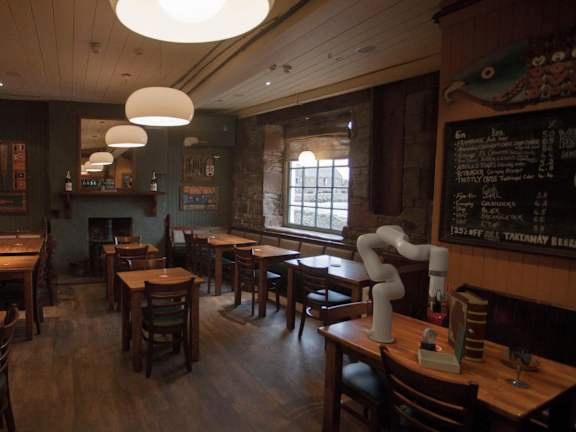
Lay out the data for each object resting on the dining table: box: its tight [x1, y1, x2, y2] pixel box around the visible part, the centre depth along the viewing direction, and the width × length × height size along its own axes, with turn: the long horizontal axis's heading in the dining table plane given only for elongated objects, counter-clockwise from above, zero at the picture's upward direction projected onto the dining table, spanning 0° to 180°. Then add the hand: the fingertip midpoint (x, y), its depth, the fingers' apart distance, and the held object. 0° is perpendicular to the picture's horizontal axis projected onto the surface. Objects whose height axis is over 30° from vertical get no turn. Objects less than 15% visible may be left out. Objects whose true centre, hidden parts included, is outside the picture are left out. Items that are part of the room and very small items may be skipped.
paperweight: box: [430, 301, 443, 314], centre depth 185 cm, size 4×4×4 cm
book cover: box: [453, 322, 475, 366], centre depth 181 cm, size 16×13×5 cm
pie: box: [498, 350, 542, 372], centre depth 186 cm, size 15×16×5 cm
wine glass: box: [506, 346, 533, 389], centre depth 168 cm, size 8×8×15 cm
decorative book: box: [447, 289, 489, 363], centre depth 200 cm, size 22×8×30 cm, turn 168°
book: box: [417, 348, 461, 374], centre depth 187 cm, size 16×13×4 cm
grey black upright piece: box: [419, 327, 438, 352], centre depth 204 cm, size 6×8×11 cm
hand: (435, 310), depth 185 cm, fingers closed on paperweight, 4 cm apart
